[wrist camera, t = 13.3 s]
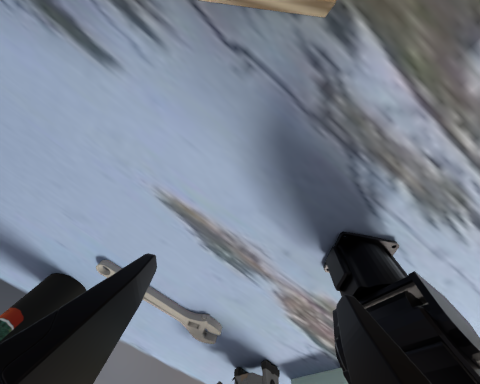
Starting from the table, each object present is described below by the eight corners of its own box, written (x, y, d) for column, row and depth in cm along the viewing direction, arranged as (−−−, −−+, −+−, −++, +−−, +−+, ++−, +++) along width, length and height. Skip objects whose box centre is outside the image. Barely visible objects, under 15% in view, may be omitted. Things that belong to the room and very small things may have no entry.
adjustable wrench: (100, 262, 32) (91, 270, 30) (118, 244, 29) (109, 252, 28) (208, 336, 38) (205, 347, 36) (230, 327, 35) (228, 337, 34)
